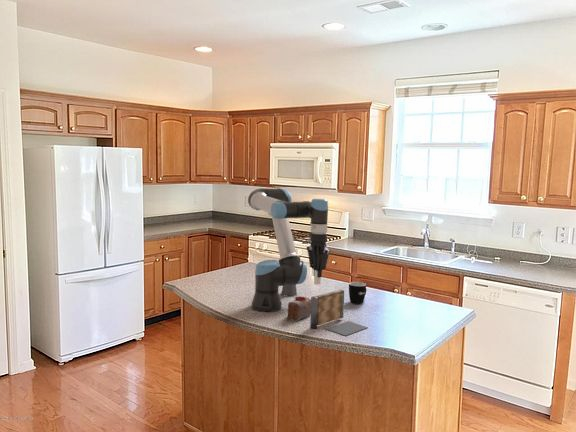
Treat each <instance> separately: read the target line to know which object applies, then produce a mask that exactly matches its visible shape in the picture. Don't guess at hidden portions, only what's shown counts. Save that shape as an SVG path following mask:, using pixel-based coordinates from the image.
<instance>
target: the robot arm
mask: <svg viewBox="0 0 576 432" xmlns="http://www.w3.org/2000/svg"><path fill="white" fill-rule="evenodd" d="M328 201H329V200H327V199H326V198H312V199H311V201H308V200H306V201H305V200H303V201H292V196H291V193H290V191H288V190H287V189H285V188H280V187H279V188H257V189H255V190H252V191H251V192H250V193H249V195H248V198H247V203H248V205H249V207H250V208H251V209H253V210H255V211H263V212H266V213H267V214H268V216H270V217H271V218H272V219H271V220H272V224H273V229H274V235H275V239H276V245H277V248H278V252H279V259H278V260H277V259H266V260H263V261H262V260H261V261H260V262H258V263H257V264H256V265H255V272H254V274H255V283H254V285H255V287H254V295H253V299H252V301H251V306H250V307H251V309H252V308H253V309H252V310H254V309H255V310H254V311H257V310H259V311H258V312H262V311H268V312H267V313H269V311H272V312H277V311H279V310H281V309H282V305H283V304H282V300H281V297H280V293H279V287H283V286H285V285H296V286H297V285H301V284H303V283H304V282H305V281H306V279H307V275H308V266H307V264H306V262H305V261H304V260H301V257H300V255H298V254H297V250H296V246H295V242H294V237H293V233H292V229H291V224H290V219H307V218H308V219H310V232H311V233H310V236H309V237H310V238H309V239H310V240H309V241H310V245H309V246H306V250H307V255H308V261H309V262H308V263H309V267H310V268H312V269H313V271H312V272H313V275H312V276H313V278H314V279H313V284H314V285H316V286H317V285H321V278H322V277H323V273H322V272H323V271H324V270H326V268H327V263H328V259H329V256H330V253H331V249H329V248H328V247H327V241H328V234H327V233H328V217H329V216H328V215H329V202H328Z"/></svg>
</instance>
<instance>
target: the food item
mask: <svg viewBox="0 0 576 432" xmlns="http://www.w3.org/2000/svg"><path fill="white" fill-rule="evenodd" d="M287 306H288V307H287V316H286V317H287V319H288V320H291V321H296V322H298V321H300V320H301V319H306V318H307V317H309V315H311V298H310V297H308V296H295V297H294V300H292V301H289V302H288V304H287Z"/></svg>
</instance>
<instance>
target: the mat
mask: <svg viewBox="0 0 576 432" xmlns="http://www.w3.org/2000/svg"><path fill="white" fill-rule="evenodd" d="M368 328H369V327H368V326H366V325H362V324H360V323H356V322H353V321H350V320H347V321H344V322H341V323H338V324H336V325H333V326H330V327H327V328H326V329H325V330H327V331H329V332H332V333H336V334H338V335H341V336H343V337H348V336H350V335H354V334H357V333H358V332H361V331H364V330H367V329H368Z"/></svg>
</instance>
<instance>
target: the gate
mask: <svg viewBox="0 0 576 432" xmlns="http://www.w3.org/2000/svg"><path fill="white" fill-rule="evenodd" d="M316 297H318V312H317V326H321V325H323V324H328V323H330V322H333V321H336V320H339V319H343V318H344V306H345V290H343V289H338V290H334V291H330V292H326V293H323V294H318V295H316Z"/></svg>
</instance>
